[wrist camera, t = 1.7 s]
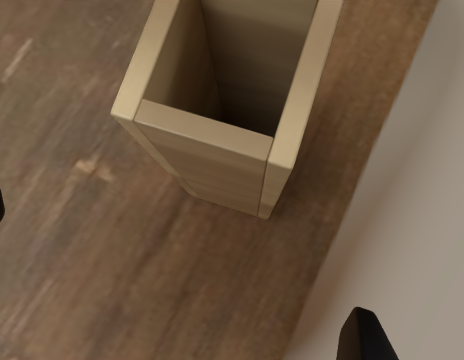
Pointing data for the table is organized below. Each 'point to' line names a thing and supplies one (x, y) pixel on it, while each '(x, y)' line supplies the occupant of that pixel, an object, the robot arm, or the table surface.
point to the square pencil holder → (227, 93)
